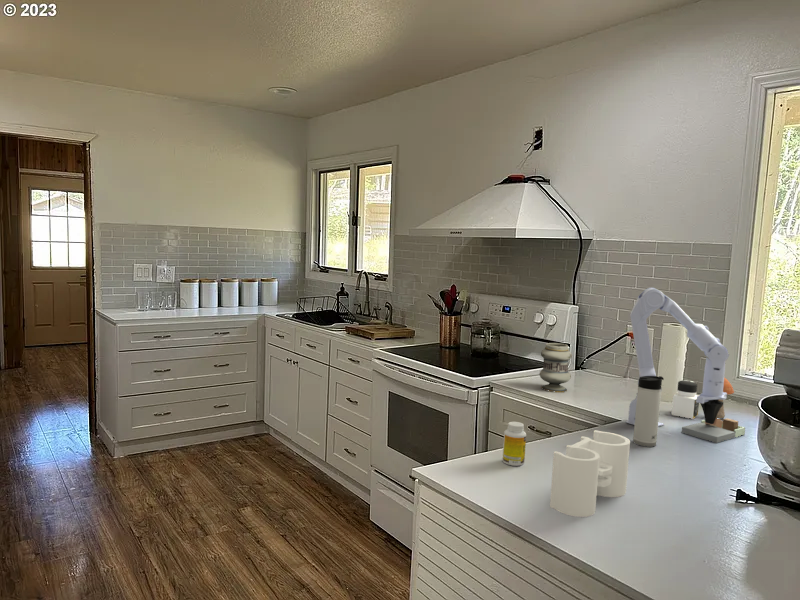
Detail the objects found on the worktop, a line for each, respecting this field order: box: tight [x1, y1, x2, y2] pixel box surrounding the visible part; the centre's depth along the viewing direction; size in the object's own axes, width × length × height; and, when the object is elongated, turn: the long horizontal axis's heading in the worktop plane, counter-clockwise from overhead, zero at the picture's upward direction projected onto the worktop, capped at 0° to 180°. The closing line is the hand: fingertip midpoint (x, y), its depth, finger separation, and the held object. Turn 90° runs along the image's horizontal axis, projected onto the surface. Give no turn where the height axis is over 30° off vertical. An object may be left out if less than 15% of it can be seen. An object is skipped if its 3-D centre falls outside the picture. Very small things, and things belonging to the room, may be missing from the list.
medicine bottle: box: [671, 379, 700, 420], centre depth 210 cm, size 7×7×12 cm
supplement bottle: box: [501, 421, 527, 467], centre depth 155 cm, size 6×6×10 cm
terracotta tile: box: [705, 418, 723, 428], centre depth 193 cm, size 4×4×2 cm
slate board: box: [681, 422, 736, 444], centre depth 188 cm, size 11×11×2 cm
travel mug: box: [632, 375, 664, 448], centre depth 176 cm, size 6×7×20 cm
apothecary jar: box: [539, 342, 573, 393], centre depth 239 cm, size 12×12×18 cm
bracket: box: [549, 429, 631, 518], centre depth 135 cm, size 25×10×12 cm, turn 139°
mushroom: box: [716, 376, 735, 419], centre depth 207 cm, size 8×8×15 cm
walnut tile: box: [722, 417, 739, 431], centre depth 190 cm, size 4×4×2 cm
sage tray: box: [700, 419, 746, 438], centre depth 193 cm, size 6×11×2 cm, turn 35°
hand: (709, 423), depth 192 cm, fingers closed
